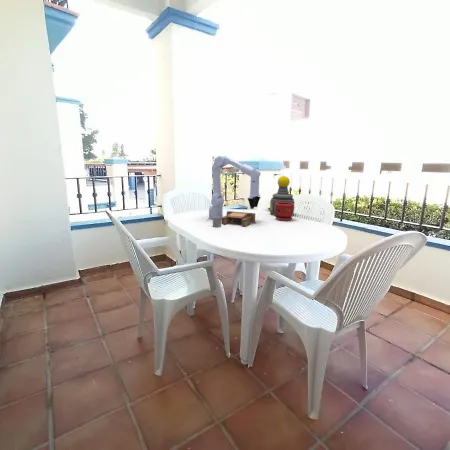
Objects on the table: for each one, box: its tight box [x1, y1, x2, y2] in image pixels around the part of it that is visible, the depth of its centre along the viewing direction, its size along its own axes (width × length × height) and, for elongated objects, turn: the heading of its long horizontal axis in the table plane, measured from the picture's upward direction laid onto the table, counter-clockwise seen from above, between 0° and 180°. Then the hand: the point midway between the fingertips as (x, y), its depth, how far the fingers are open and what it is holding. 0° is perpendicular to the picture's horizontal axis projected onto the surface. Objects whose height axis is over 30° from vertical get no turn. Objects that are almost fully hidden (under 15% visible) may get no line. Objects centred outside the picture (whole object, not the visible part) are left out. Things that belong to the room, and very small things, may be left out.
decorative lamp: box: [269, 175, 295, 217], centre depth 213 cm, size 19×19×30 cm
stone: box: [212, 216, 222, 228], centre depth 175 cm, size 4×4×6 cm
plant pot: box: [275, 202, 295, 222], centre depth 197 cm, size 13×13×12 cm
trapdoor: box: [228, 213, 247, 218], centre depth 184 cm, size 10×10×1 cm
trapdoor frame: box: [221, 210, 256, 228], centre depth 185 cm, size 20×16×6 cm
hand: (253, 207), depth 186 cm, fingers open, 7 cm apart
